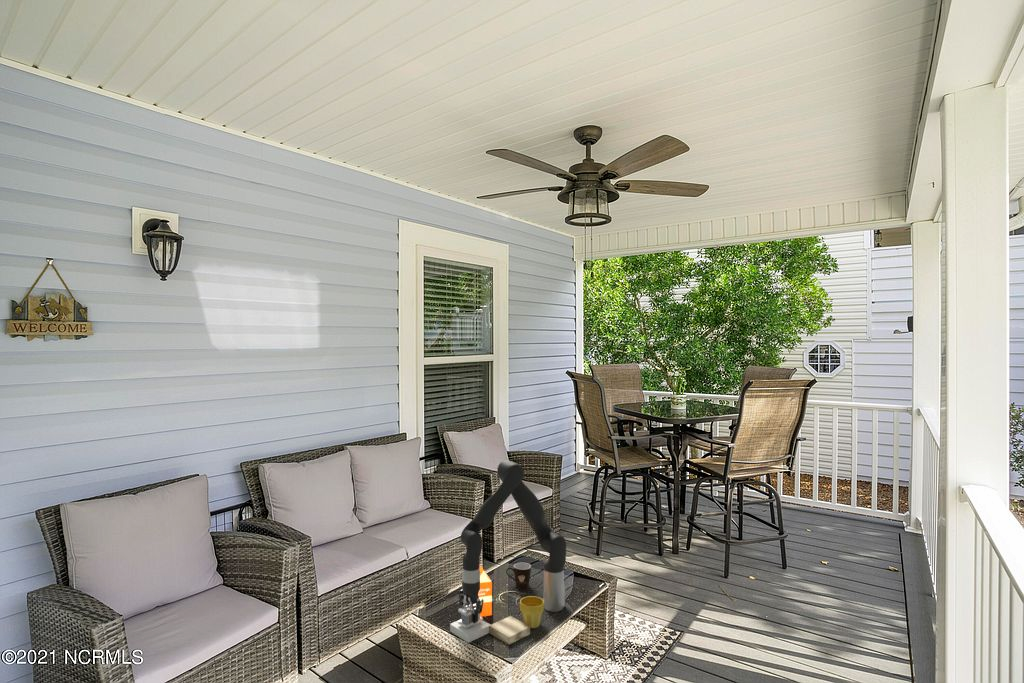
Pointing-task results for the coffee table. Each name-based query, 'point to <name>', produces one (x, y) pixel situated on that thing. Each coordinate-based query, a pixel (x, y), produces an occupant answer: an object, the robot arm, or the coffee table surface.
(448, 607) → the coffee table surface
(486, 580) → the orange juice
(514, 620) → the stand
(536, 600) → the plant pot
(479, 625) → the stand
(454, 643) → the coffee table surface
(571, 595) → the coffee table surface
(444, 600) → the coffee table surface
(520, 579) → the coffee mug
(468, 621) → the block
